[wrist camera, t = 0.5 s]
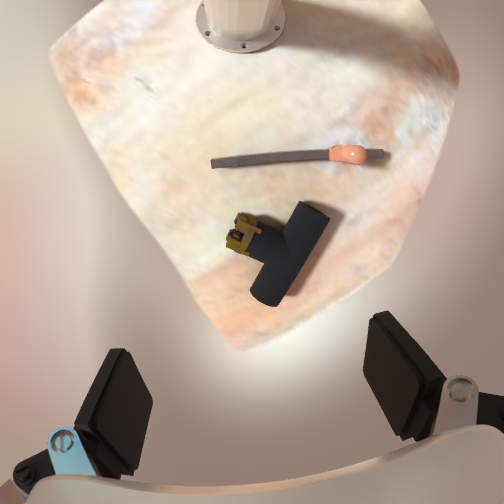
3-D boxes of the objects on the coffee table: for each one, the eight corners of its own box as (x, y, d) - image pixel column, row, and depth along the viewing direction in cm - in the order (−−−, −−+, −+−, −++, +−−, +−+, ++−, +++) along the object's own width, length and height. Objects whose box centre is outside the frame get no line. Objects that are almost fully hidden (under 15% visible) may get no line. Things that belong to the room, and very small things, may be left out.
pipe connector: (209, 282, 38) (260, 182, 34) (210, 266, 43) (255, 177, 39) (281, 311, 41) (335, 222, 36) (275, 293, 46) (323, 213, 41)
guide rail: (211, 154, 37) (207, 156, 30) (373, 144, 37) (397, 146, 31) (213, 171, 38) (209, 176, 31) (374, 160, 38) (398, 164, 32)
